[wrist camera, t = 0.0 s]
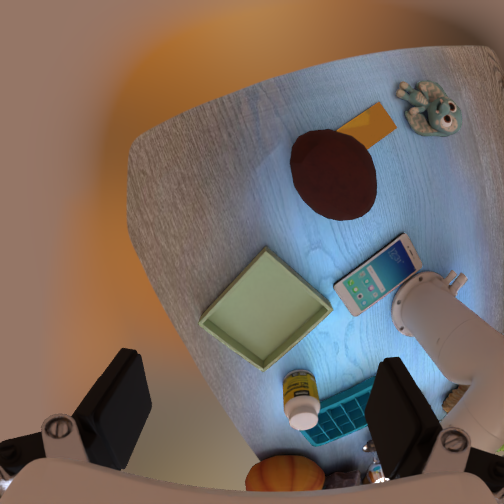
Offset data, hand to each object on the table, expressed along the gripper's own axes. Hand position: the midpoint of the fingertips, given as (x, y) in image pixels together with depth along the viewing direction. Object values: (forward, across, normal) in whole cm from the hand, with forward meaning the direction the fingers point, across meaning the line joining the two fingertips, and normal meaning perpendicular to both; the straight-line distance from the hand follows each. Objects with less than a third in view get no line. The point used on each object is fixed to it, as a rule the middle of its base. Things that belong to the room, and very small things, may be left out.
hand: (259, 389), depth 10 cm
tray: (+36, -1, +14) cm, 38 cm away
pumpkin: (+36, -7, +61) cm, 71 cm away
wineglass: (+36, -29, +54) cm, 71 cm away
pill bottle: (+36, -8, +29) cm, 47 cm away
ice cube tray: (+36, -18, +37) cm, 55 cm away
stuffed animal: (+34, -20, -23) cm, 45 cm away
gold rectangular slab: (+35, -13, -17) cm, 41 cm away
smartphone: (+36, -19, +8) cm, 41 cm away
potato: (+36, -9, -8) cm, 38 cm away
